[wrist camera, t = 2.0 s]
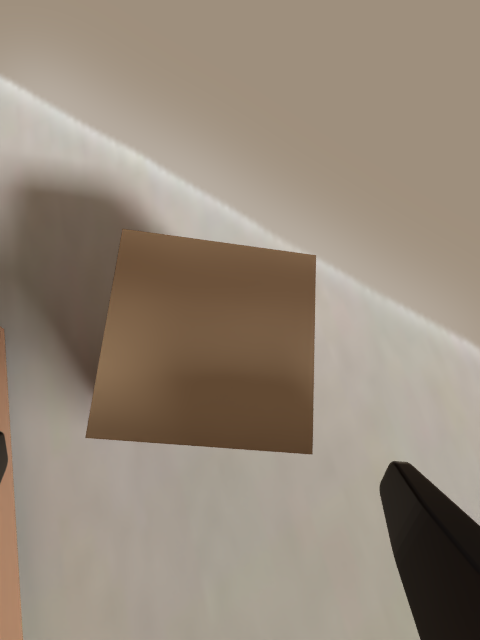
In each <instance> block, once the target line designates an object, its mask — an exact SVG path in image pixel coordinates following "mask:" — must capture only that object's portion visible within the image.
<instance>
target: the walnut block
mask: <svg viewBox="0 0 480 640" xmlns="http://www.w3.org/2000/svg"><path fill="white" fill-rule="evenodd" d="M315 278H316V255H309V254H302V253H295V252H287V251H280V250H273V249H266V248H258V247H251V246H244V245H237V244H229V243H222V242H215V241H207V240H200V239H193V238H186V237H178V236H171V235H164V234H157V233H149V232H142V231H135V230H127V229H122V234H121V240H120V246H119V251H118V257H117V263H116V268H115V274H114V280H113V285H112V291H111V296H110V302H109V308H108V313H107V319H106V325H105V330H104V336H103V341H102V347H101V353H100V358H99V364H98V370H97V375H96V381H95V386H94V392H93V398H92V403H91V409H90V415H89V420H88V426H87V432H86V437H85V438H95V439H109V440H122V441H136V442H150V443H163V444H177V445H191V446H204V447H218V448H232V449H246V450H259V451H273V452H287V453H300V454H312V448H313V392H314V335H315Z"/></svg>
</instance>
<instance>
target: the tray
mask: <svg viewBox="0 0 480 640" xmlns="http://www.w3.org/2000/svg"><path fill="white" fill-rule="evenodd" d="M0 431H1V432H3V433H4V436H5V441H6V447H7V453H8V464H7V468H6V471H5V473H4V476H3V478H2V481H1V483H0V640H23V634H22V617H21V600H20V584H19V567H18V551H17V534H16V517H15V501H14V484H13V468H12V451H11V434H10V418H9V401H8V385H7V368H6V351H5V335H4V329H3V328H2V327H0Z"/></svg>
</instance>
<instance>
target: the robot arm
mask: <svg viewBox="0 0 480 640" xmlns="http://www.w3.org/2000/svg"><path fill="white" fill-rule="evenodd" d="M7 464H8V453H7V447H6V441H5V436H4V433H3V432H1V431H0V483H1V481H2V478H3V476H4V473H5V471H6V468H7ZM380 496H381V500H382V505H383V510H384V514H385V519H386V523H387V528H388V533H389V537H390V542H391V546H392V550H393V554H394V558H395V561H396V565H397V568H398V571H399V574H400V577H401V580H402V584H403V587H404V590H405V593H406V596H407V599H408V602H409V605H410V608H411V611H412V615H413V618H414V621H415V624H416V627H417V630H418V633H419V636H420V639H421V640H480V526H479V525H478V524H477V523H476V522H475V521H474V520H473V519H471V518H470V517H469V516H468V515H467V514H466V513H465V512H464V511H463V510H461V509H460V508H459V507H458V506H457V505H456V504H455V503H454V502H453V501H451V500H450V499H449V498H448V497H447V496H446V495H445V494H444V493H442V492H441V491H440V490H439V489H438V488H437V487H436V486H435V485H434V484H432V483H431V482H430V481H429V480H428V479H427V478H426V477H425V476H424V475H422V474H421V473H420V472H419V471H418V470H417V469H416V468H415V467H413V466H412V465H411V464H410V463H408V462H400V461H392V462H391V463H390V464H389V466H388V468H387V470H386V472H385V474H384V476H383V479H382V481H381V483H380Z"/></svg>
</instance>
